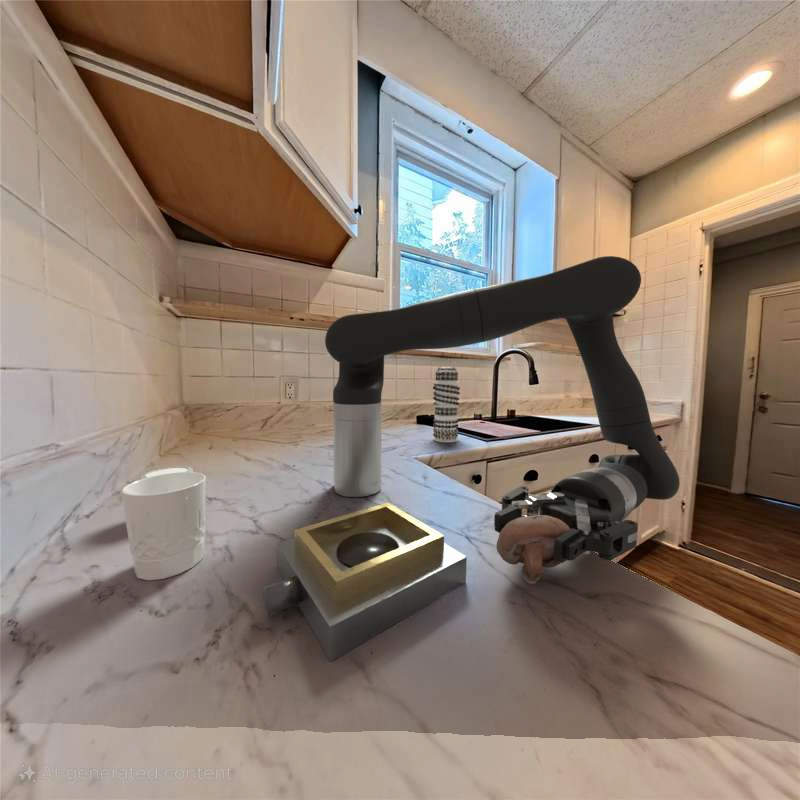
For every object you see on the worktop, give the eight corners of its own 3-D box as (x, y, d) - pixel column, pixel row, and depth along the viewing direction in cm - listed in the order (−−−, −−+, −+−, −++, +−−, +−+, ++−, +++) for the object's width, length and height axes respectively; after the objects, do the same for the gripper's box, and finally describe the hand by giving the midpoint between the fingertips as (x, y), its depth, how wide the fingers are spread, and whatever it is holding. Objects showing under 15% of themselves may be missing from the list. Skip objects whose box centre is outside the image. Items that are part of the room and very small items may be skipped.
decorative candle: (426, 439, 108) (427, 366, 105) (441, 435, 115) (442, 367, 112) (449, 443, 102) (451, 366, 100) (463, 439, 109) (465, 367, 107)
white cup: (164, 544, 42) (160, 471, 41) (222, 545, 41) (219, 472, 41) (108, 584, 34) (101, 494, 33) (179, 586, 34) (173, 496, 33)
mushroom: (492, 589, 34) (490, 516, 33) (504, 559, 39) (502, 497, 38) (572, 612, 30) (571, 531, 29) (573, 576, 35) (572, 506, 35)
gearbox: (245, 568, 37) (244, 527, 36) (381, 522, 48) (381, 491, 48) (292, 684, 23) (290, 621, 23) (465, 582, 34) (467, 539, 34)
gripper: (544, 460, 48) (471, 482, 38) (663, 487, 36) (605, 530, 26) (541, 507, 48) (470, 541, 38) (659, 549, 37) (600, 614, 27)
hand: (525, 536), depth 32 cm, fingers closed on mushroom, 6 cm apart
